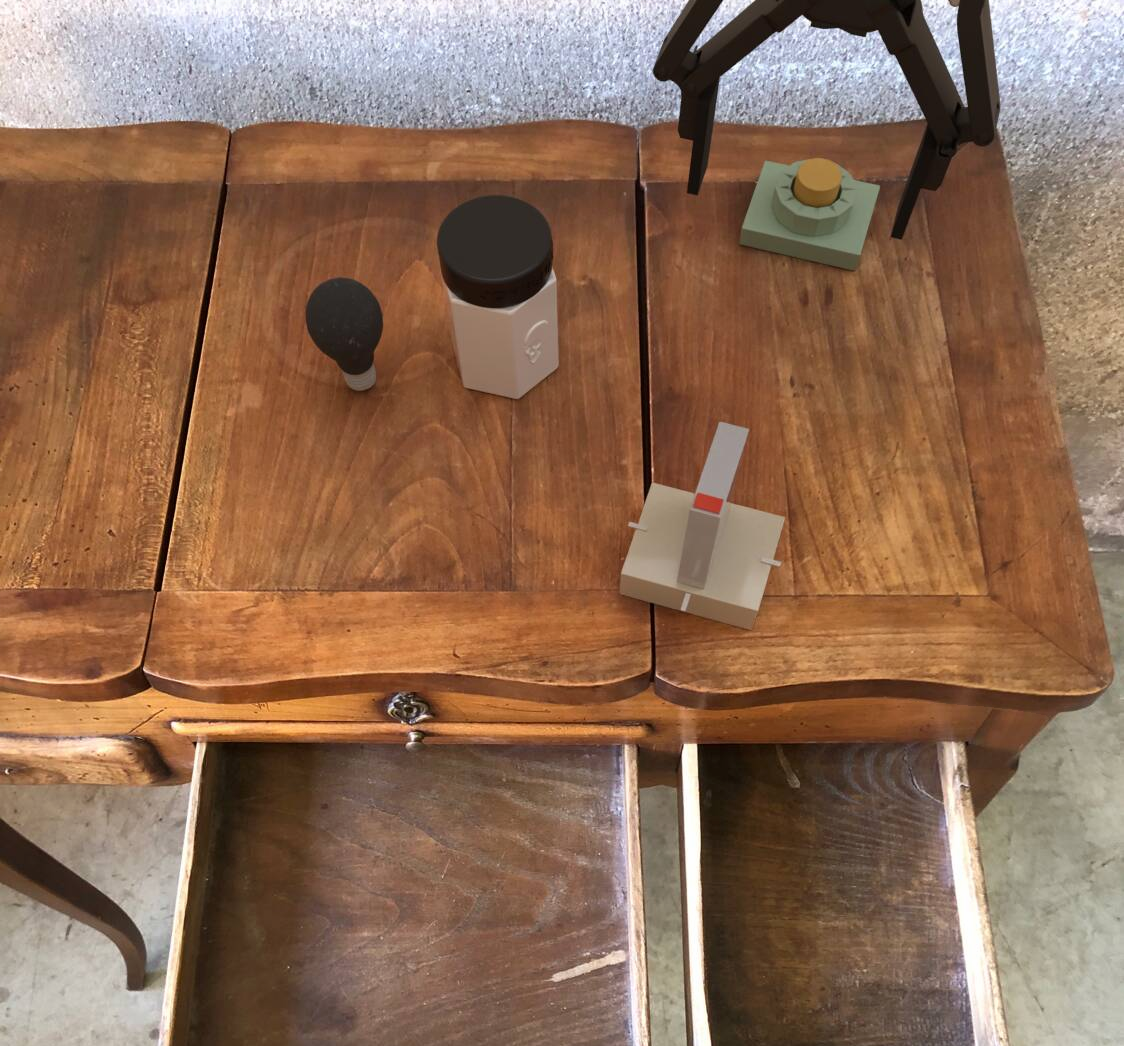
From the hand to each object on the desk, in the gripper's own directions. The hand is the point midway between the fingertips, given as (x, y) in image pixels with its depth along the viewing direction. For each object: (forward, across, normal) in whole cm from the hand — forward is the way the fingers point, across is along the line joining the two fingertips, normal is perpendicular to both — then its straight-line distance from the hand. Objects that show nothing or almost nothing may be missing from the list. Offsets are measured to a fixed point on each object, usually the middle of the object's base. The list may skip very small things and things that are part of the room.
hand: (797, 201), depth 69 cm
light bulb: (+16, -30, -10) cm, 35 cm away
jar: (+16, -20, -5) cm, 26 cm away
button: (+13, +1, +16) cm, 21 cm away
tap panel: (+16, 0, -19) cm, 25 cm away
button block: (+16, +1, +16) cm, 23 cm away
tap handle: (+13, 0, -19) cm, 23 cm away
